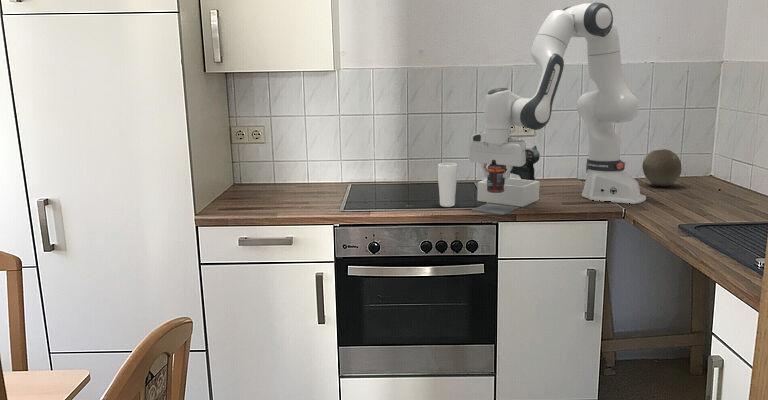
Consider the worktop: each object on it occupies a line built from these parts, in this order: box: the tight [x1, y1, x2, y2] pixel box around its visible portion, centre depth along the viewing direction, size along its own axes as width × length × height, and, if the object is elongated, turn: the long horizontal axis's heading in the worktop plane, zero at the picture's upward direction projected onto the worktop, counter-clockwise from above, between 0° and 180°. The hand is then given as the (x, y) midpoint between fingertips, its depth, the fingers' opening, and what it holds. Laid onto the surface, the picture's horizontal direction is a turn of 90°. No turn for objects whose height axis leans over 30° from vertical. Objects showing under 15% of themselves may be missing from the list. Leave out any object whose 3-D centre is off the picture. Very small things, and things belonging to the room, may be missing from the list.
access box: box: [476, 177, 541, 208], centre depth 228 cm, size 18×14×7 cm
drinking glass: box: [437, 162, 458, 208], centre depth 220 cm, size 7×7×15 cm
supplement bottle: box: [486, 160, 505, 193], centre depth 212 cm, size 6×6×11 cm
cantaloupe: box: [642, 149, 683, 187], centre depth 248 cm, size 14×14×15 cm
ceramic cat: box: [503, 141, 541, 181], centre depth 247 cm, size 20×6×20 cm, turn 54°
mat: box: [471, 202, 520, 216], centre depth 214 cm, size 12×12×1 cm
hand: (496, 177), depth 212 cm, fingers closed on supplement bottle, 6 cm apart
